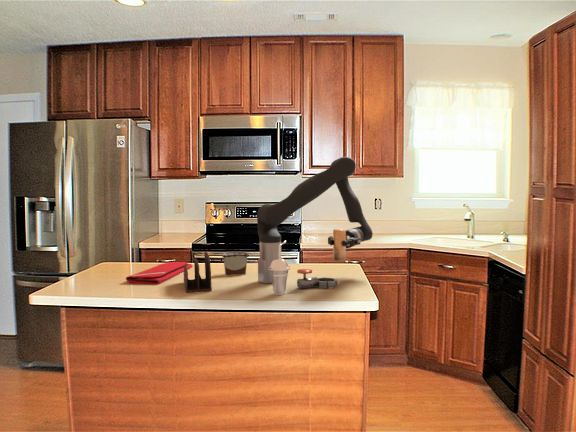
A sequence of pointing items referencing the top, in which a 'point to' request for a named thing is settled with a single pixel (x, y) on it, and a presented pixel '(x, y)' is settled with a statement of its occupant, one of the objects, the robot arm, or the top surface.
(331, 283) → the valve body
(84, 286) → the top surface
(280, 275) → the cup with straw
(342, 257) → the copper cylinder
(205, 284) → the letter holder
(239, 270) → the food container
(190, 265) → the dish drying mat
